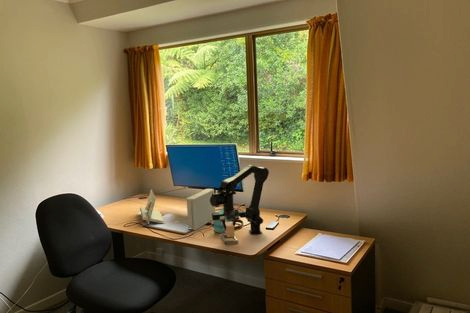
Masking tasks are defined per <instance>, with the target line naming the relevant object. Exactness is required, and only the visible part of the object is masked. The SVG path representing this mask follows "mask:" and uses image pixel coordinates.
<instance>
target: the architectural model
mask: <svg viewBox="0 0 470 313" xmlns="http://www.w3.org/2000/svg"><path fill="white" fill-rule="evenodd" d="M148 195H149V196H148V199H147V202H146V206H140V208H139V211H140V214H141V219H142V220H143V221H145V222H146V223H147V224H150V222H154V223H158V224H159V223H160V224H162V223H161V222H165V219H164V218H163V215H162V214H161V211H160V210H159V209H155V208H154V207H155V203H156V200H157V196H155V194H154V191H153V189H150V191H149V194H148Z"/></svg>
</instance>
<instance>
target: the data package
mask: <svg viewBox="0 0 470 313" xmlns="http://www.w3.org/2000/svg"><path fill="white" fill-rule="evenodd" d="M217 212H219V214H224V211H223V208H222V209H219V210H218V211H215V213H217ZM224 219H225V222H232V219H230V220H227V219H226V217H224ZM213 227H214V230H213V231H214V233H219V234H222V233H225V228H224V226H223V223H222V221H219V220H213Z"/></svg>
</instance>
